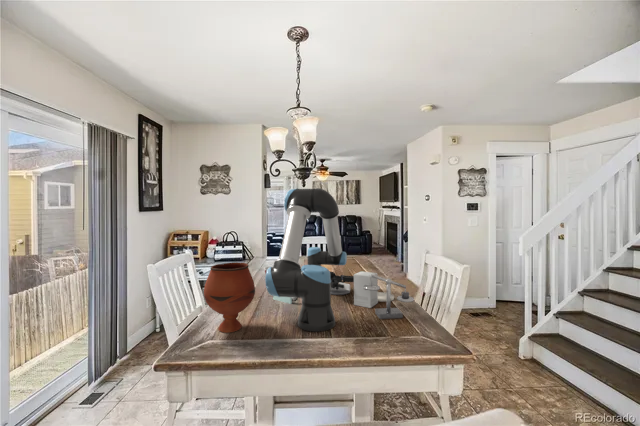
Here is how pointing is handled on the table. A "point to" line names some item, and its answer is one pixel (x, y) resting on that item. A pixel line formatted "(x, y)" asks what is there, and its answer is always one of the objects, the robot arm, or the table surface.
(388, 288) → the balance
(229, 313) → the goblet
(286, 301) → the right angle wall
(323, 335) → the table surface
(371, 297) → the supplement box
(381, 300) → the cream dish
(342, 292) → the charcoal dish
